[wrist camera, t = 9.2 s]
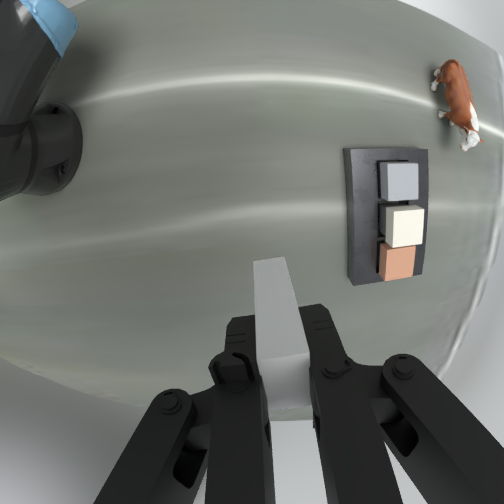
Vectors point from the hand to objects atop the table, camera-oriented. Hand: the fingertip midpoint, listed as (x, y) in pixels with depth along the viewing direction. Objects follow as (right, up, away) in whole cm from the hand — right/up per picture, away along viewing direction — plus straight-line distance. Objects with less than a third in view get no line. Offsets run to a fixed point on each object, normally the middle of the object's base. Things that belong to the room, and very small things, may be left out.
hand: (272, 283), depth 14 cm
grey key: (+18, +12, +20) cm, 30 cm away
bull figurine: (+28, +24, +16) cm, 40 cm away
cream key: (+18, +6, +21) cm, 29 cm away
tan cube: (+19, +2, +25) cm, 31 cm away
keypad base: (+18, +7, +23) cm, 30 cm away
